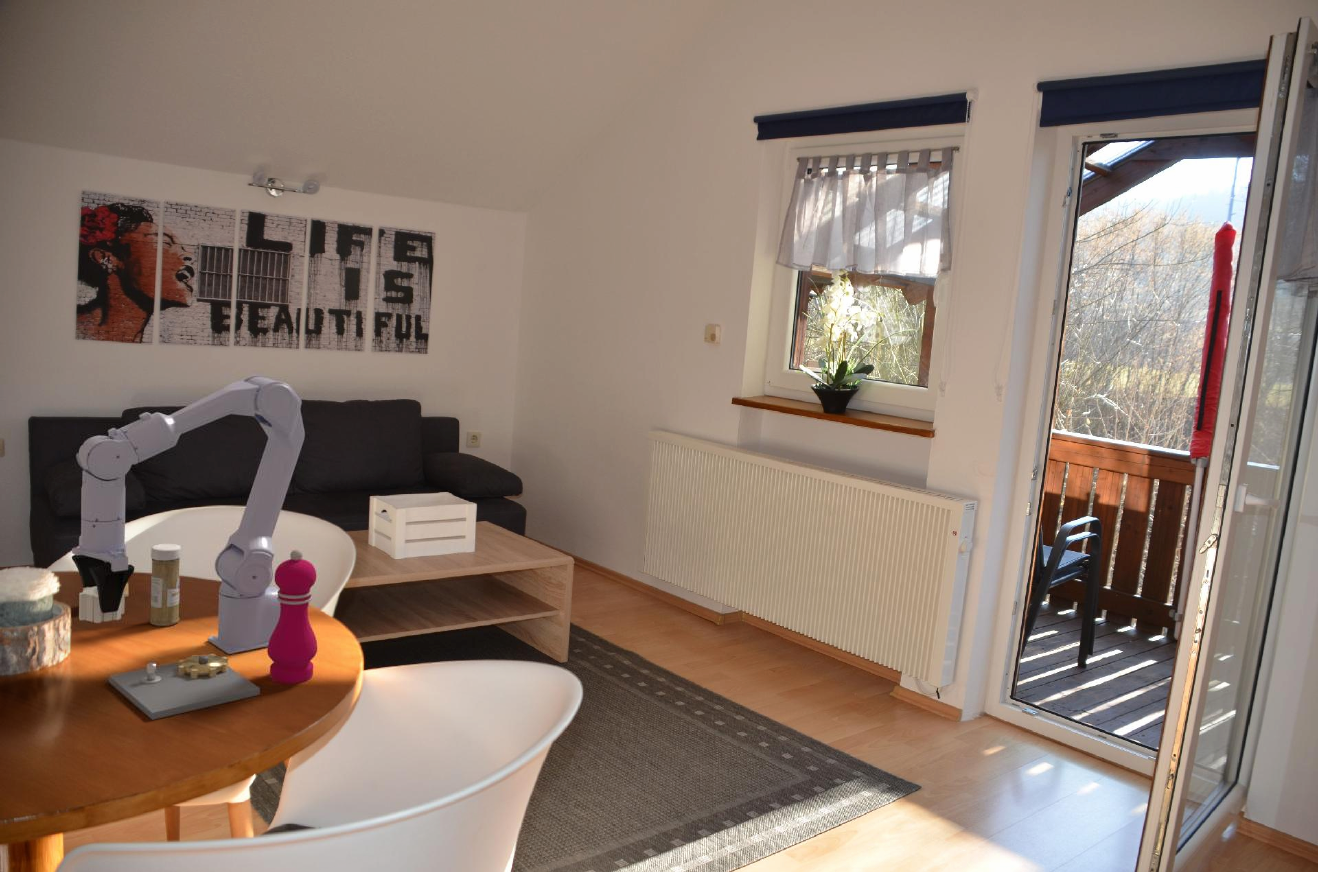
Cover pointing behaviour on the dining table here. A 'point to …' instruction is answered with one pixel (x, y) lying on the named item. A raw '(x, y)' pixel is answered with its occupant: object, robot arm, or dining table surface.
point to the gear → (96, 607)
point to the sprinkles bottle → (165, 584)
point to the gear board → (183, 685)
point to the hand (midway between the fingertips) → (102, 605)
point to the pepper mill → (293, 622)
